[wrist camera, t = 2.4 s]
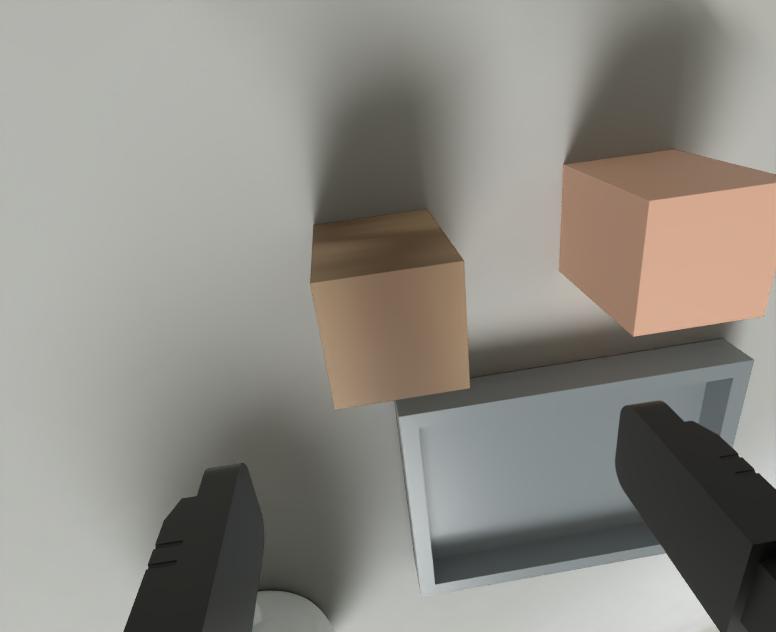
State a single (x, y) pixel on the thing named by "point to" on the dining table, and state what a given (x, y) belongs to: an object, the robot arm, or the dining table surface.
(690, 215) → the block
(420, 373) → the block
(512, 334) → the dining table surface
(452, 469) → the tray
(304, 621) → the mug
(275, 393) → the dining table surface
